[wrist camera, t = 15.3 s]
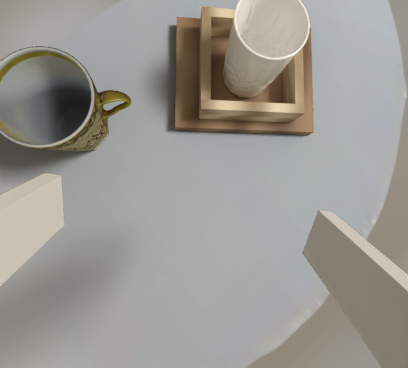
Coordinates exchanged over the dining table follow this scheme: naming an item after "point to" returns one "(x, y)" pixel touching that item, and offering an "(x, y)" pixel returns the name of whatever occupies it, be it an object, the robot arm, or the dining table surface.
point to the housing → (222, 97)
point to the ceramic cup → (53, 101)
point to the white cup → (263, 43)
